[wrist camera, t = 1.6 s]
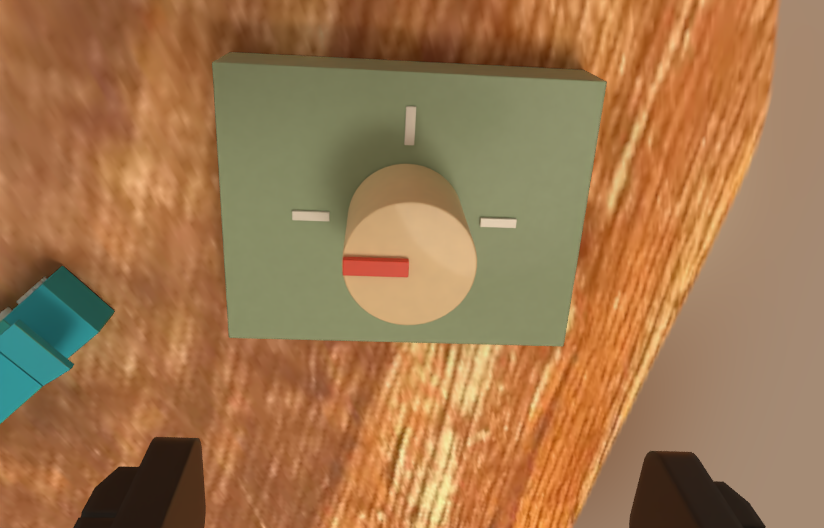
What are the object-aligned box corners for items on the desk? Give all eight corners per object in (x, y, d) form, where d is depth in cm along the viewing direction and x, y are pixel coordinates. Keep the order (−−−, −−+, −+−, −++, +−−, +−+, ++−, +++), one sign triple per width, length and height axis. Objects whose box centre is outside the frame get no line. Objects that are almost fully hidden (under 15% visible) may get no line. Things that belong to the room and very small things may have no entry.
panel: (584, 69, 27) (608, 82, 24) (548, 313, 32) (564, 349, 29) (229, 51, 26) (210, 62, 24) (242, 304, 31) (227, 340, 28)
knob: (467, 165, 26) (484, 207, 21) (457, 273, 27) (472, 332, 23) (348, 160, 25) (342, 202, 21) (346, 269, 27) (340, 328, 23)
